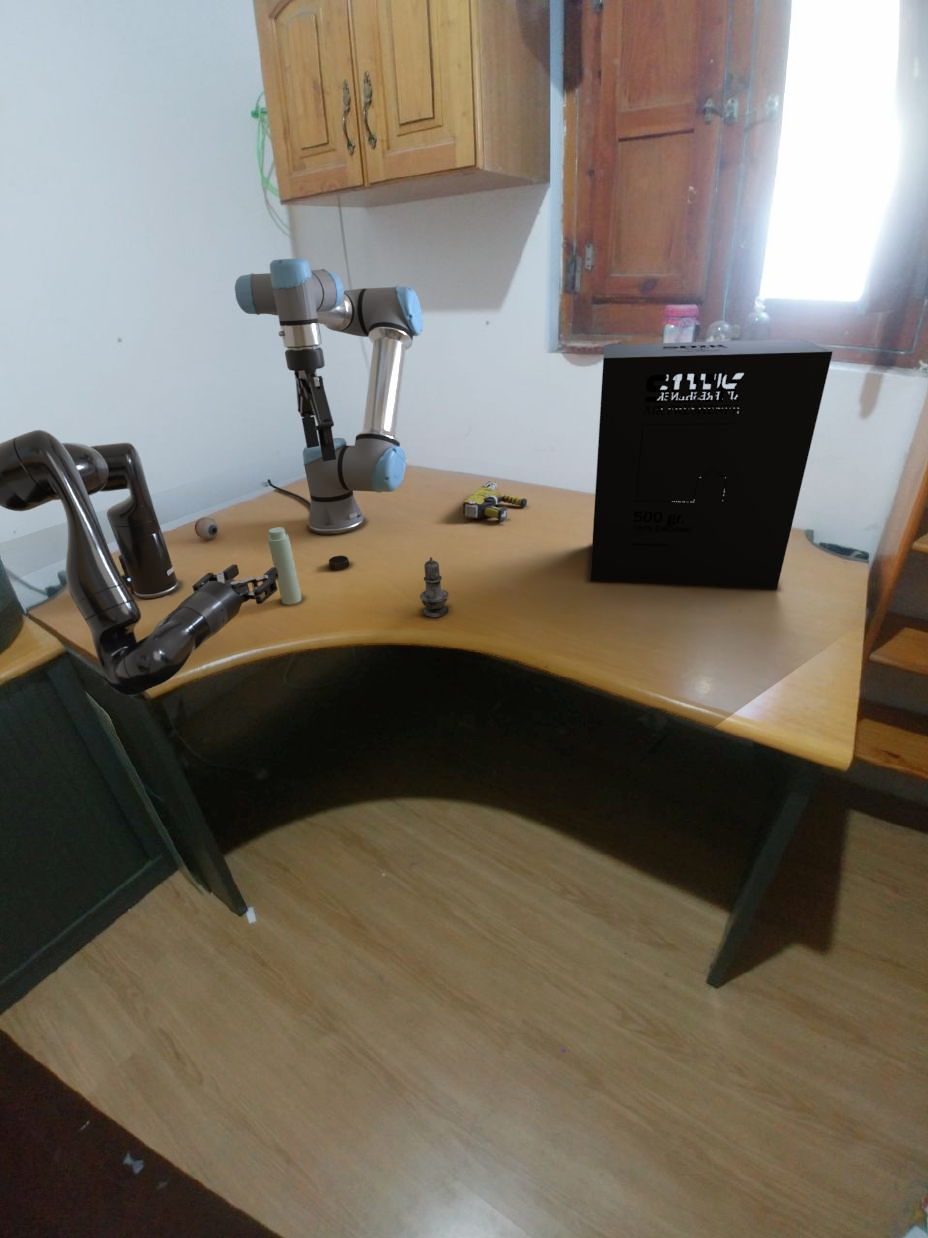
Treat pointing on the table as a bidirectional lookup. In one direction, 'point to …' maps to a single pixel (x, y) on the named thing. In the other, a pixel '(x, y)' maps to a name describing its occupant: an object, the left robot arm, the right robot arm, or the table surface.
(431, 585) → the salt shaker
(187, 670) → the table surface
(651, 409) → the cardboard box
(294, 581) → the bottle
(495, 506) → the toy gun
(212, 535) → the eyeball
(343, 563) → the lid
